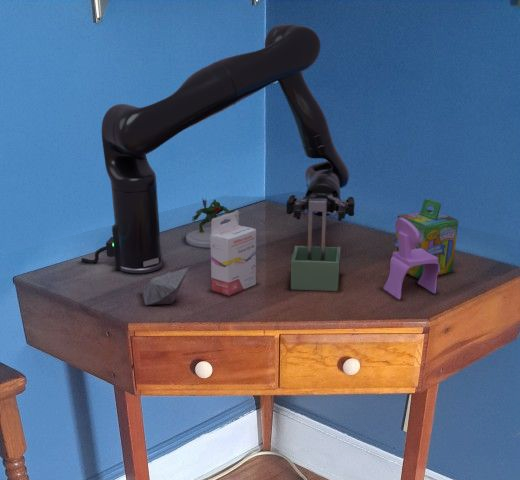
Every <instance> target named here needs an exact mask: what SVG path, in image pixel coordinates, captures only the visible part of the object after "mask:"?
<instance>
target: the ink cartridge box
mask: <svg viewBox="0 0 520 480" xmlns="http://www.w3.org/2000/svg"><path fill="white" fill-rule="evenodd" d="M234 211H235V212H232V213H225V214H222V215H220V216H216V217H217V218H213V219H212V221H210V228H211V235H210V245H211V248H210V272H211V273H210V274H211V276H210V277H211V291H212V292H215V293H218V294H221V295H225V296H228V297H230V296H233V295H234V294H237V293H239V292H241V291H244V290H246V289H248V288H252V287H253V286H256V285H257V229H256V228H253V227H249V226H244V225H240V224H239V223H240V222H239V219H240V210H234ZM225 220H229V222H225V223H222V222H224V221H225ZM220 223H221V224H220Z"/></svg>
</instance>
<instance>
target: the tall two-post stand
mask: <svg viewBox="0 0 520 480" xmlns="http://www.w3.org/2000/svg"><path fill="white" fill-rule="evenodd" d="M326 210H327V199H321V198H310V199H309V214H308V215H307V216H308V219H307V220H308V221H307V246H308V261H312V246H313V222H314V221H313V219H314V218H313V217H314V216H313V215H314V214H313V212H322V216H321V245H320V247H321V261H325V247H326V238H327V237H326V236H327V235H326V234H327V216H326Z"/></svg>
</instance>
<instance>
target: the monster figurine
mask: <svg viewBox="0 0 520 480" xmlns="http://www.w3.org/2000/svg"><path fill="white" fill-rule="evenodd" d="M202 205H203V207H202V208H199V209H196V211H195V215H194V216H193V215H192V219H191V220H192V222H195V221H196V220H198V219H199V217H200V216H201V215H202V214H205V215H206V216H205V218H204V219H203V220H201V222H200V223H199V227H198V229H195V230H192V231H190V232H188V233H186V236H185V241H186V243H187V244H188V245H191V246H194V247H197V248H209V249H211V245H210V235H211V227H203V226H205V224H207V223H211V221H212V219H213V218H217V217H218V216H217V215H219V214H220V213H222V212H225V213H226V214H229V213H232V212H235V211H236V210H229V209H228V207H226V206H224V205H221V203H220V202H219V201H217V199H216V198H215V199H213V200H212V201H211V202H210V205H209V206H208V207H207V199H204V197H202ZM220 224H222V222H221V223H220Z"/></svg>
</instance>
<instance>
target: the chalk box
mask: <svg viewBox="0 0 520 480" xmlns="http://www.w3.org/2000/svg"><path fill="white" fill-rule="evenodd" d="M441 206H442V204H441V202H439V201H435V200H432V199H429V198H425V199H424V200H423V203H422V206H421V210H419V211H414V212H409V213H404V214H399V215H397V217H396V218H397V219H398V218H400V217H402V218H404V219H406V220H408V221H409V222H410V223H412V224H413V225H414V226H415V228H416V229H417V230H418V232H419V236H420V239H419V245H418V246H417V247H415V248H413V249H418V248H422V249H423V250H425V251H426V252H428V253H430V254H431V255H434V256H436V257H438V263H439V270H438V275H437V277H438V276H441V275H446V274H450V273H452V272H453V267H454V266H453V265H454V258H455V250H456V243H457V236H458V235H457V234H458V229H459V228H458V227H459V220H458V219H457V218H455V217H452V216H450V215H446V214H444V213H441V212H440V210H441ZM428 207H432V208H433V210H432V209H428ZM397 219H396V220H397ZM393 248H394V250H393V252H397V251H399V243H398V233H397V231H396V230H395V240H394V247H393ZM413 249H412V250H413ZM423 270H424V265H423V264H421V265H417V266H413V267H411V268H409V270H408V271H407V273H406V275H409V276H411V277H413V278H416V280H418V281H419V280H420V278H421V276H422V273H423Z"/></svg>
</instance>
